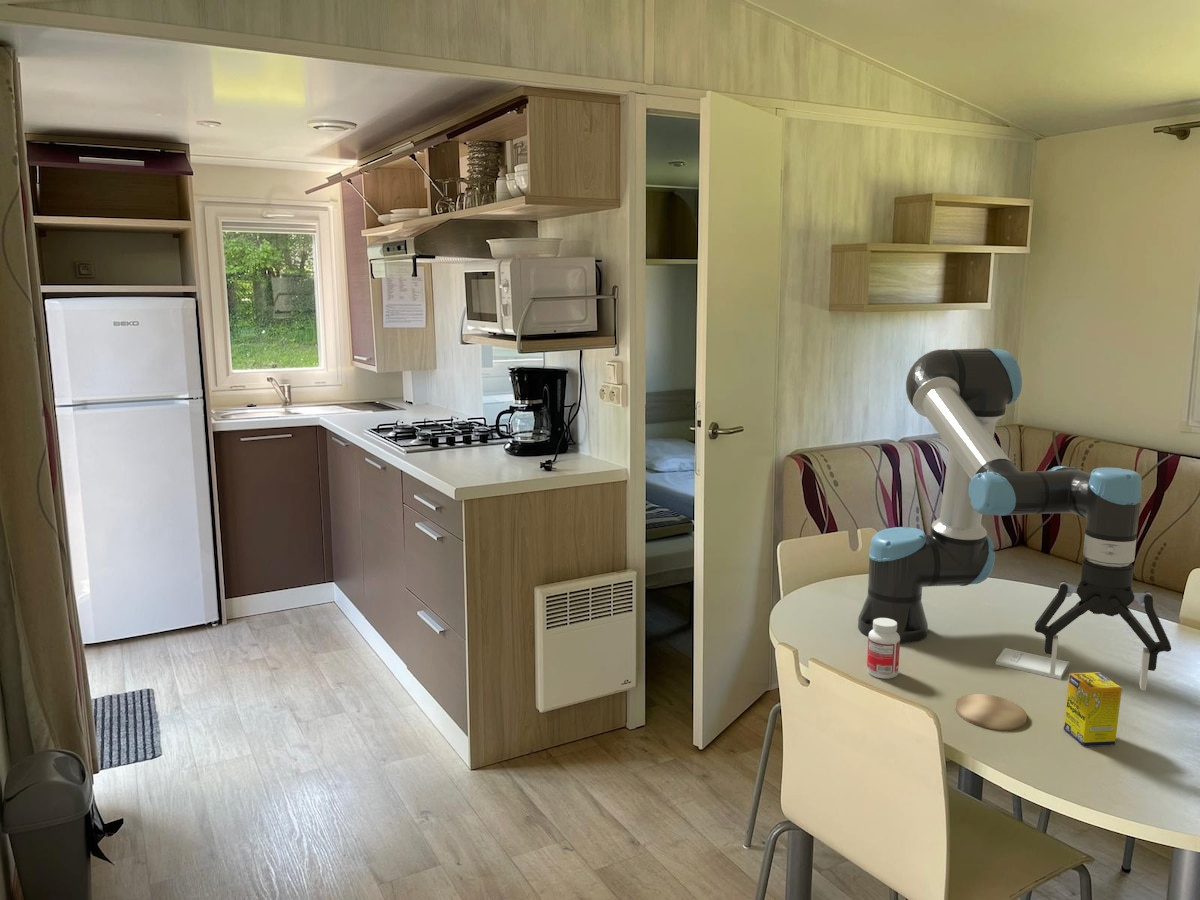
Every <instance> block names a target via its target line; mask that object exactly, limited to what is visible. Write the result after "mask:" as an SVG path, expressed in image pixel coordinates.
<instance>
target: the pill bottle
mask: <svg viewBox="0 0 1200 900" xmlns="http://www.w3.org/2000/svg"><path fill="white" fill-rule="evenodd" d="M896 631H897V622H896V621H894V620H892V619H889V618H877V619H874V620H873V630H871V631H870V632H869V636H867V637H868V638H867V639H868V640H867V657H866V658H867V659H866V660H867V661H866V670H867V671H866V672H868V674H869V675H870V676H872V677H875V678H878V679H882V680H883V679H884V680H885V679H893V678H895V677H897V676H898V674H899V667H900V646H901V643H900V636H899V634H898V633H897V632H896Z"/></svg>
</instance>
